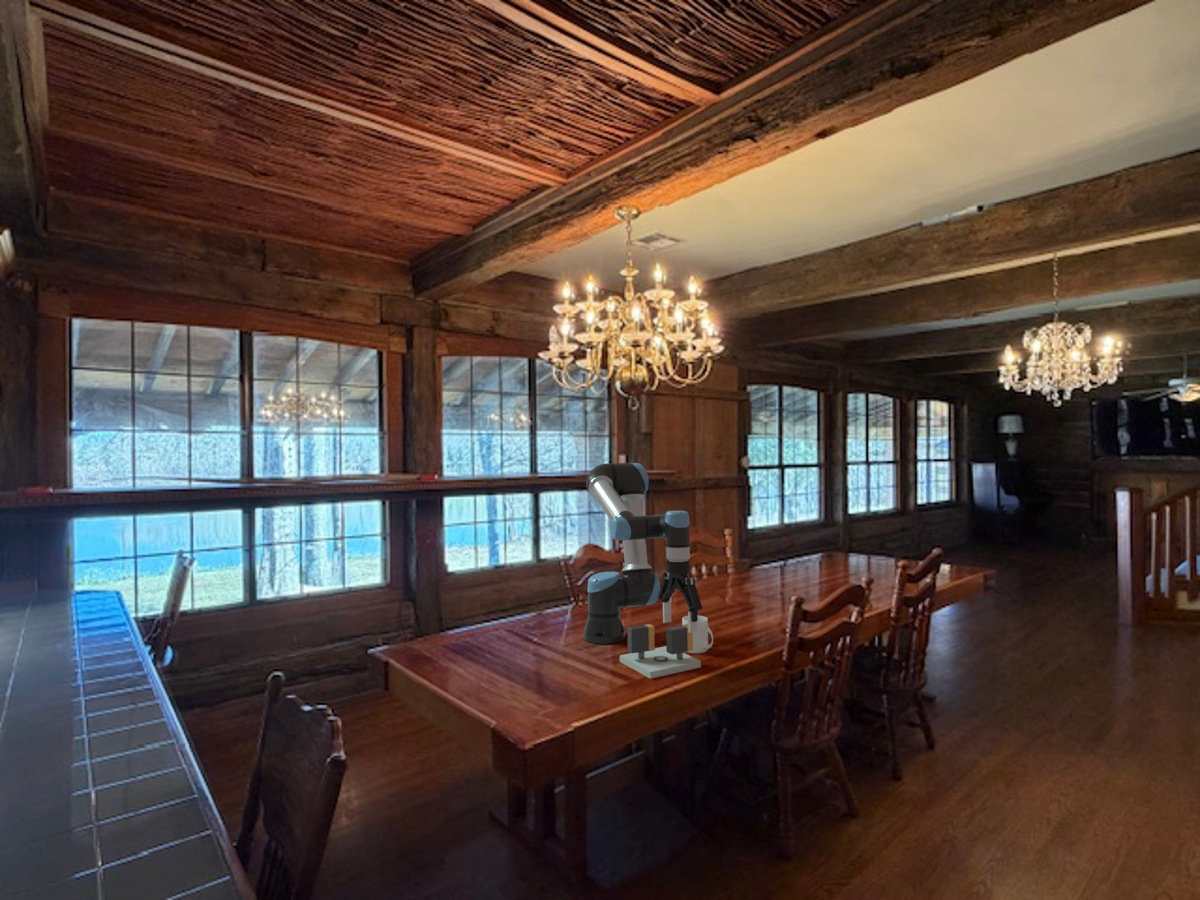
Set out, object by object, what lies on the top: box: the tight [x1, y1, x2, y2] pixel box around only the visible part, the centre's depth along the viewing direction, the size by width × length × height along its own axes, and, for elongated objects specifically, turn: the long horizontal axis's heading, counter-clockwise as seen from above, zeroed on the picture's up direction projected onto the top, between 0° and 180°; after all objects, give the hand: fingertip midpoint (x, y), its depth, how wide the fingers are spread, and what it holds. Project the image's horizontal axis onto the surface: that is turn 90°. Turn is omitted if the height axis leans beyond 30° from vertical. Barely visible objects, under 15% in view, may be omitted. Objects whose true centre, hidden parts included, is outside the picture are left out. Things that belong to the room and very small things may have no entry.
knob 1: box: [626, 623, 656, 659], centre depth 203 cm, size 8×3×10 cm, turn 112°
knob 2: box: [665, 624, 693, 659], centre depth 202 cm, size 8×3×10 cm, turn 119°
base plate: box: [619, 645, 702, 680], centre depth 203 cm, size 18×19×3 cm
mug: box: [681, 614, 714, 654], centre depth 216 cm, size 9×12×11 cm
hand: (679, 627), depth 202 cm, fingers open, 13 cm apart
